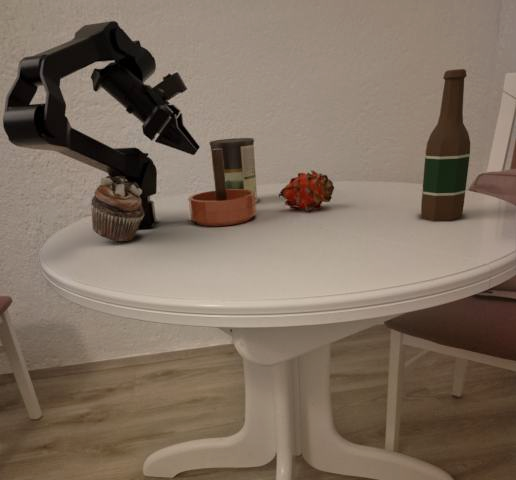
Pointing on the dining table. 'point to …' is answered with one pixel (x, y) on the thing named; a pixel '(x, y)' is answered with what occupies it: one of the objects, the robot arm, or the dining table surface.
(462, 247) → the dining table surface
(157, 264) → the dining table surface
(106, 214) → the cupcake
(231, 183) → the coffee can
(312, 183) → the dragon fruit
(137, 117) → the robot arm
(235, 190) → the bowl
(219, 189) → the wooden peg on disc
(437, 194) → the beer bottle
